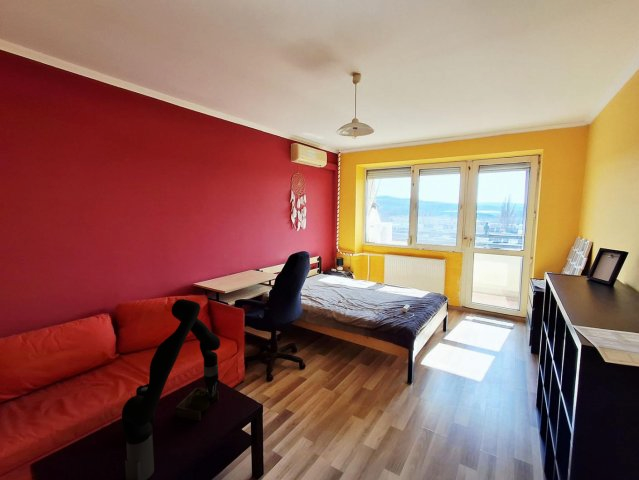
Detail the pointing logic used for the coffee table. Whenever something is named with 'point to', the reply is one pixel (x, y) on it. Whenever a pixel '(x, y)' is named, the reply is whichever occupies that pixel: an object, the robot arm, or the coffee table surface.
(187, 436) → the coffee table surface
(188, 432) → the coffee table surface
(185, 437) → the coffee table surface
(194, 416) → the frame
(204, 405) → the apple
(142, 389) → the travel mug
